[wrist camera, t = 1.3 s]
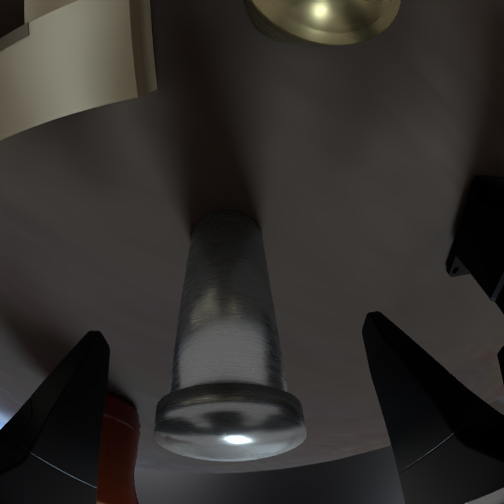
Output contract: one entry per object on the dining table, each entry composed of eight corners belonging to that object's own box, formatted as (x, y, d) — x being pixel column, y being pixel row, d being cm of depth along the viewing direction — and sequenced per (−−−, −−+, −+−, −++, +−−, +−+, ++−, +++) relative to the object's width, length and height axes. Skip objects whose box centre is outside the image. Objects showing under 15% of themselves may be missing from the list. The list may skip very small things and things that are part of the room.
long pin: (268, 200, 13) (316, 407, 5) (269, 271, 15) (299, 455, 8) (178, 208, 13) (130, 414, 5) (192, 277, 15) (176, 461, 7)
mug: (168, 417, 24) (163, 517, 16) (108, 424, 26) (97, 506, 18) (69, 347, 18) (33, 477, 10) (20, 365, 20) (-10, 461, 11)
